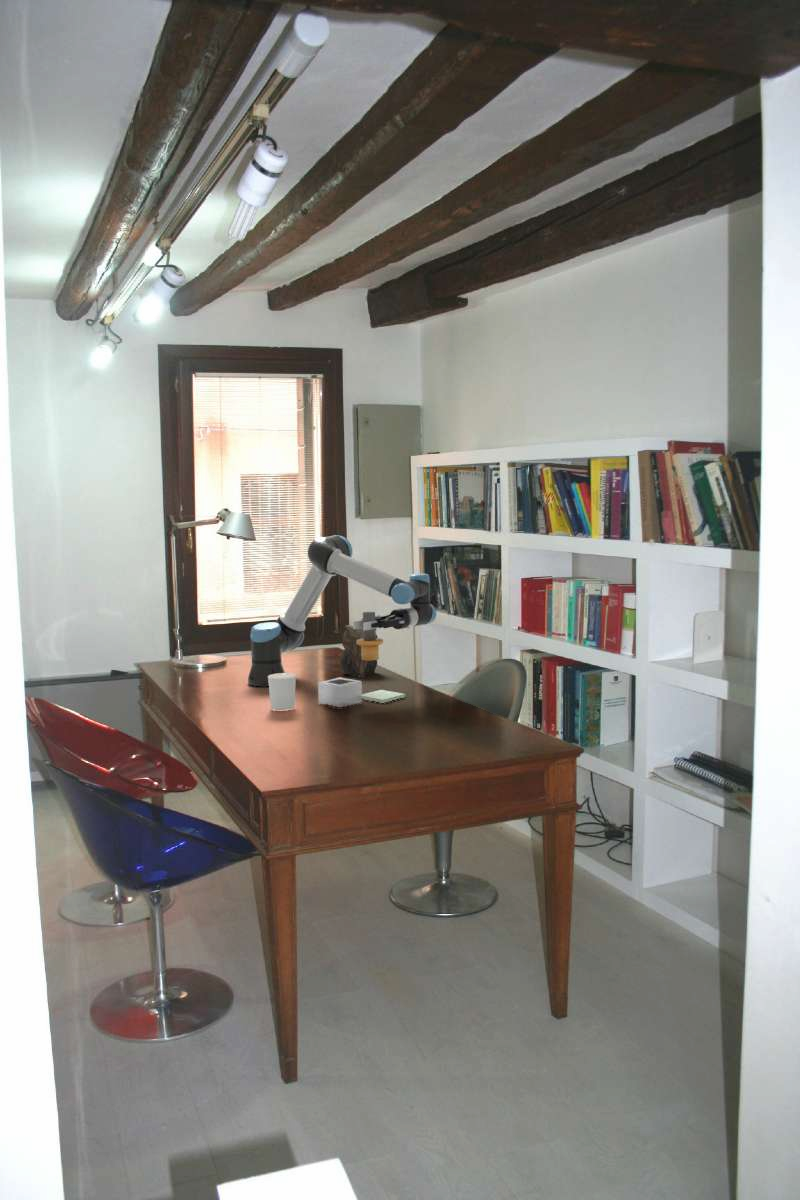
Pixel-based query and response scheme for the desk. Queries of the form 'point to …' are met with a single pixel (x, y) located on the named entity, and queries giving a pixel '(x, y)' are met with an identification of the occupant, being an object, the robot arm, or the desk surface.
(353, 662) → the owl
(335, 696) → the block
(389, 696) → the mat
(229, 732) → the desk surface
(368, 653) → the end cover
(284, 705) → the candle holder
